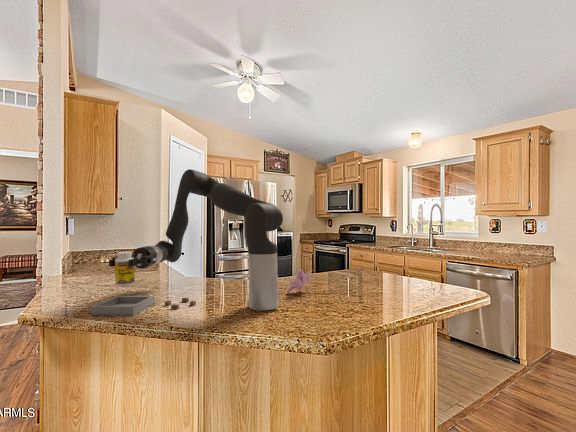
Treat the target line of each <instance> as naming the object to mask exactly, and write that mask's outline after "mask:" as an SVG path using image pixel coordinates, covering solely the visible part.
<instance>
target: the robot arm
mask: <svg viewBox="0 0 576 432" xmlns="http://www.w3.org/2000/svg"><path fill="white" fill-rule="evenodd" d="M190 194H194V195H197V196H203V197H206V198H208V199H210V200H211V202H212V203H213V205H214V206H216V207H217V208H218V209H220V210H222V211H224V212H226V213H228V214H232V215H236V216H240V217H244V228H245V242H246V246H247V250H248V308H249V309H250V310H251V311H260V312H261V311H263V312H264V311H271V310H277V309H278V306H279V301H280V300H279V275H278V245H277V244H276V243H275V242H273V241H271V240H270V239H269V238H268V234H267V233H268V232H273V231H275V230H278V229H279V228H280V227H281V226H282V224H283V222H284V216H283V213H282V211H281V209H280V208H279V207H278V206H277V205H276V204H274V203H270V202H266V201H264V200H260V199H257V198H255V197H253V196H251V195H249V194H247V193H246V192H244V191H242V190H239V189H238V188H236V187H234V186H231V185H229V184H227V183H222V182H219V181H217V180H216V179H214V178H213V177H211V176H210V175H208V174H206V173H204V172H201V171H199V170H195V169H189V168H188V169H187V170H185V171H184V172H183V174H182V175H181V178H180V180H179V185H178V189H177V195H176V198H175V203H174V208H173V211H172V215H171V218H170V221H169V223H168V226H167V228H166V231H165V236H166V237H167V239H169V240H170V241H171V242H172V243H171V242H169V241H167V240H159V241H158V243H156V244H155V245H146V246H141V247H137V248H135V249H134V250H133V252H132V257H131V258H134V259H130V260H128V266H129V267H132V266H135V268H136V269H137V268H138V269H141V270H142V269H147V268H150V267H153V266H155V265H157V264H160V263H163V262H164V261H168V262H170V263H176V262H177V261H178V260H179V259H180V257H181V255H182V248H183V241H184V240H183V239H184V236H185V233H186V230H187V228H188V225H189V219H190V218H189V212H188V206H187V202H188V198H189V196H190ZM116 259H118V255H116V256H112V257H111V259H109V260H108V266H109V268H113V267H115V260H116Z"/></svg>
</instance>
